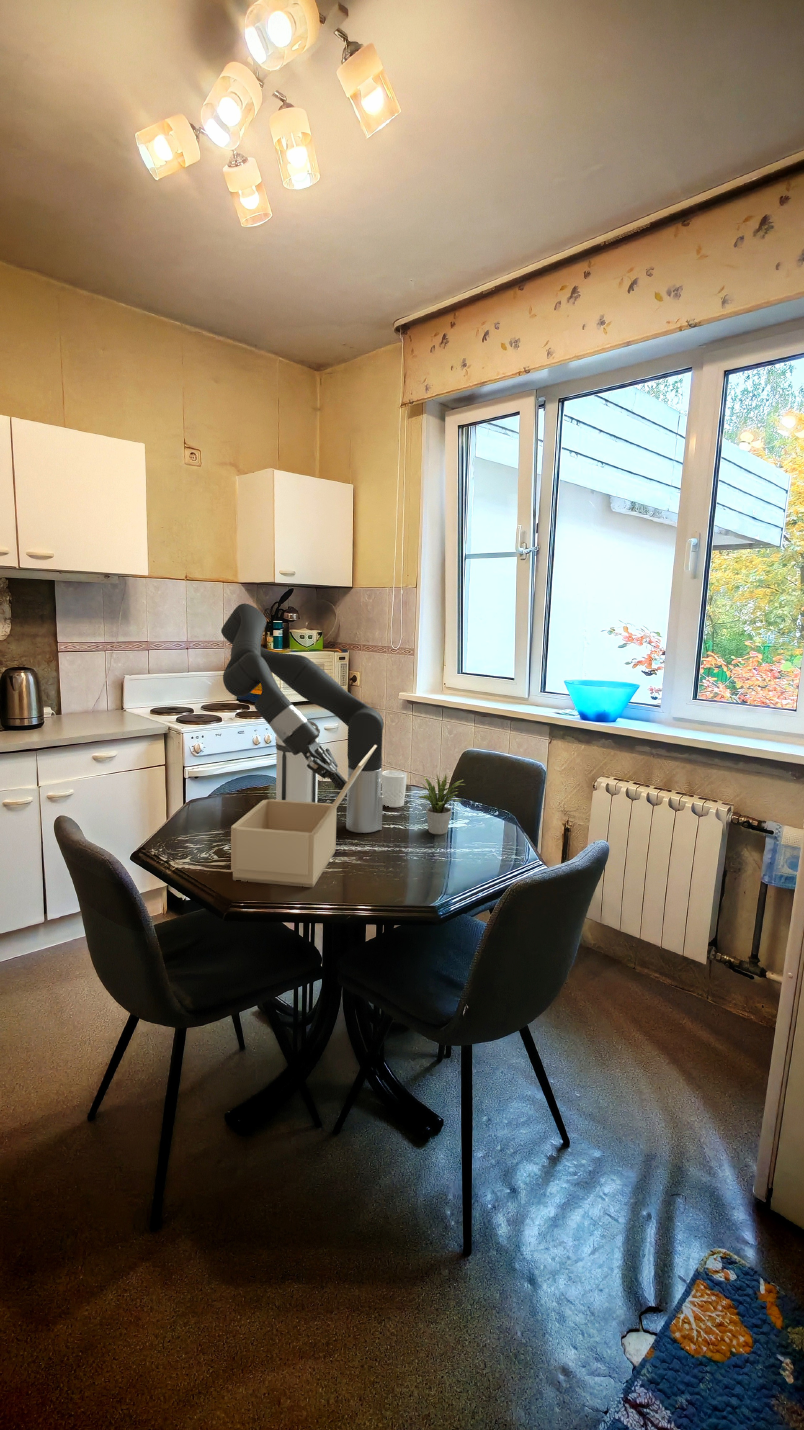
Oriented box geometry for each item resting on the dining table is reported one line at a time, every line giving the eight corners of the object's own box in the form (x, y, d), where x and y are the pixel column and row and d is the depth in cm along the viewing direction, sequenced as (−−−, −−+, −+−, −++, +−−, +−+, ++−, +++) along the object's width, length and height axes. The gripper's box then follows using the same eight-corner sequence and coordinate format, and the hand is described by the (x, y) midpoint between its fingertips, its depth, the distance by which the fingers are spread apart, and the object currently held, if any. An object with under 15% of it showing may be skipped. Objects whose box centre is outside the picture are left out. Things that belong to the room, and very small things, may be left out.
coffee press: (334, 810, 195) (336, 711, 191) (298, 823, 182) (300, 717, 177) (291, 799, 205) (292, 705, 200) (254, 811, 191) (254, 710, 186)
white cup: (387, 809, 199) (388, 777, 197) (376, 802, 206) (377, 771, 204) (410, 806, 202) (411, 775, 201) (398, 799, 209) (399, 769, 208)
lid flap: (336, 803, 160) (338, 805, 160) (314, 832, 139) (316, 834, 139) (375, 744, 157) (377, 746, 157) (358, 764, 135) (361, 766, 135)
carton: (335, 850, 163) (337, 804, 161) (312, 888, 140) (313, 835, 138) (264, 844, 165) (264, 798, 163) (229, 881, 142) (229, 828, 140)
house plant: (469, 842, 173) (473, 782, 170) (418, 841, 172) (420, 781, 169) (460, 824, 187) (464, 769, 184) (413, 823, 186) (415, 768, 183)
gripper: (291, 735, 154) (339, 790, 155) (273, 745, 141) (325, 805, 142) (313, 715, 153) (362, 770, 153) (297, 723, 140) (350, 784, 140)
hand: (344, 787), depth 147 cm, fingers closed
